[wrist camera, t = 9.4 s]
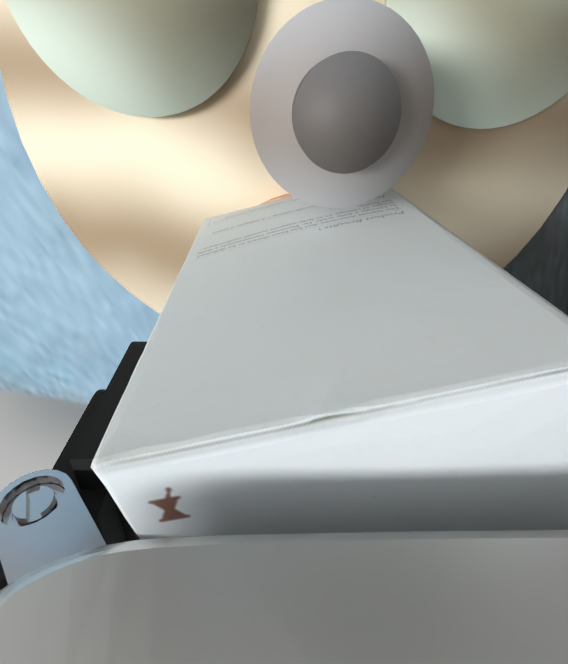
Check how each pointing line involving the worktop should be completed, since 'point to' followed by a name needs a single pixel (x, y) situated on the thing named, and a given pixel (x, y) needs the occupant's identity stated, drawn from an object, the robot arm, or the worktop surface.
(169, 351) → the supplement box
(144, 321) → the worktop surface
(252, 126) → the carrier
